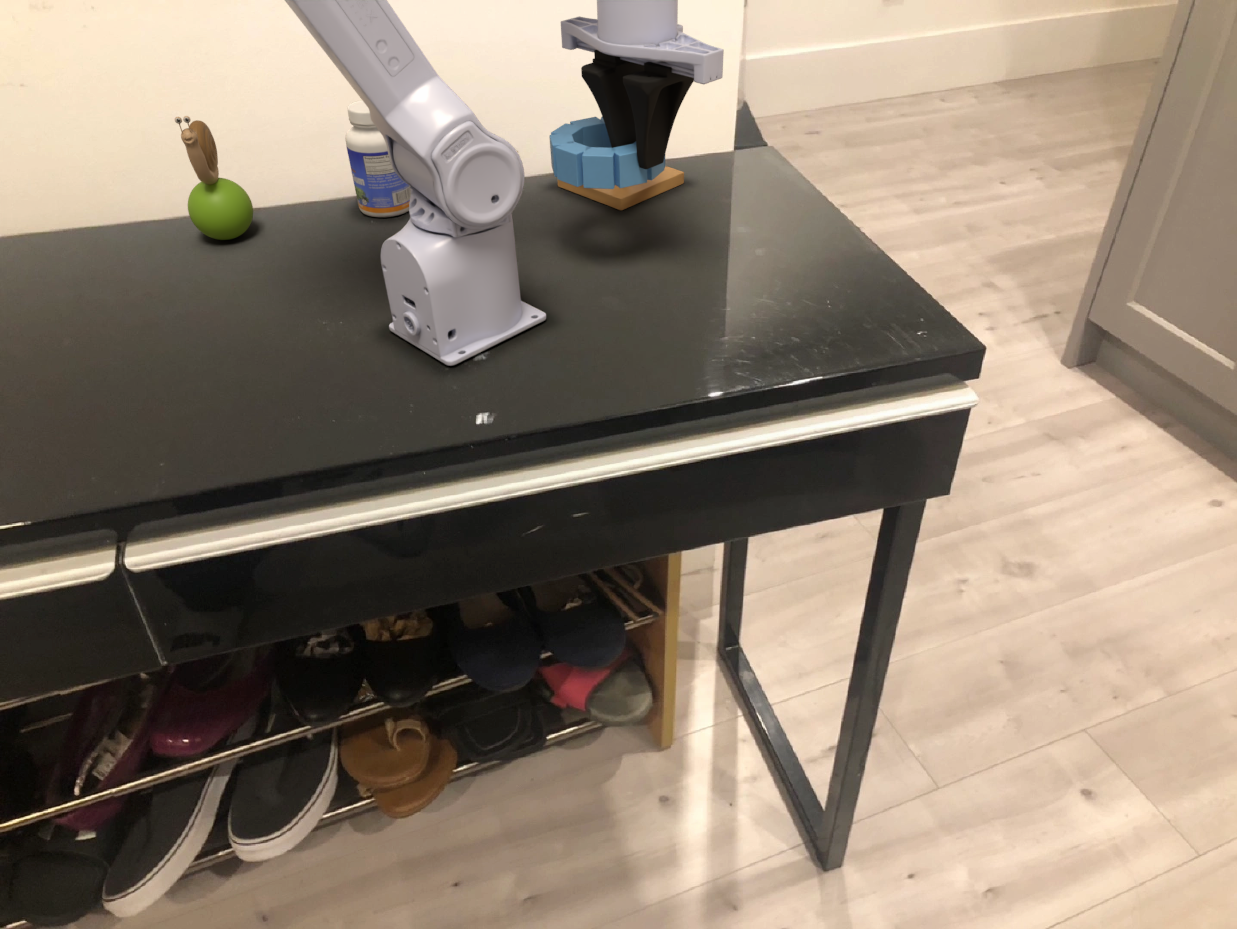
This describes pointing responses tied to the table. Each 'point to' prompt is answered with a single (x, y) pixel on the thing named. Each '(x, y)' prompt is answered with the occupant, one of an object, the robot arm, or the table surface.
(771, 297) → the table surface
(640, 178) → the segmented ring
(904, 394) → the table surface
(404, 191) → the pill bottle
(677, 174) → the peg
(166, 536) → the table surface
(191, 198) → the snail figurine
